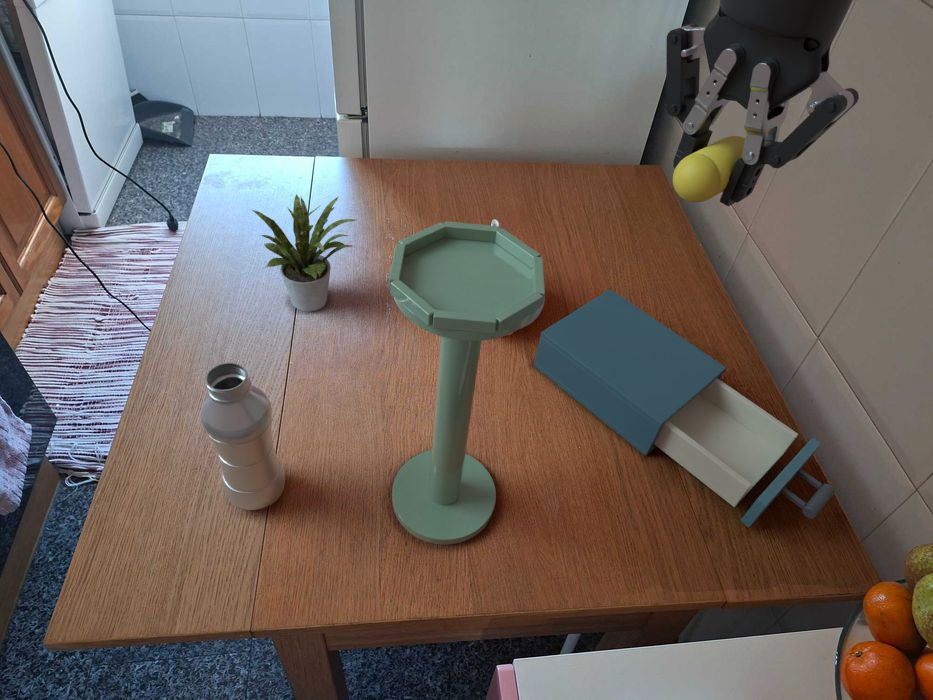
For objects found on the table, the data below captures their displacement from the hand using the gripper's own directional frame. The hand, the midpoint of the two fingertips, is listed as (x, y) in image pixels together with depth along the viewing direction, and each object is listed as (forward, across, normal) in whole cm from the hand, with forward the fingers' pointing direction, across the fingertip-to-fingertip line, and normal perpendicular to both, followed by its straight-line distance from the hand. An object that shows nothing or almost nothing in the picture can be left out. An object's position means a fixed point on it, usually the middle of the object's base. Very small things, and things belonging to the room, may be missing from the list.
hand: (707, 187), depth 50 cm
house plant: (+41, -46, -10) cm, 62 cm away
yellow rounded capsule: (-2, 0, 0) cm, 2 cm away
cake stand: (+40, -9, -16) cm, 44 cm away
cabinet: (+40, -7, +15) cm, 44 cm away
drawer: (+39, +10, +15) cm, 43 cm away
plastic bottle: (+41, -23, -32) cm, 57 cm away
